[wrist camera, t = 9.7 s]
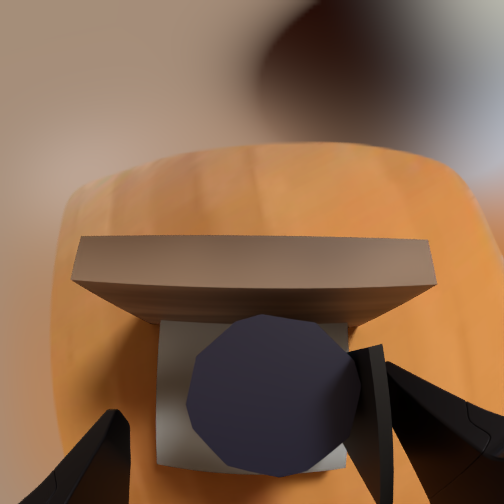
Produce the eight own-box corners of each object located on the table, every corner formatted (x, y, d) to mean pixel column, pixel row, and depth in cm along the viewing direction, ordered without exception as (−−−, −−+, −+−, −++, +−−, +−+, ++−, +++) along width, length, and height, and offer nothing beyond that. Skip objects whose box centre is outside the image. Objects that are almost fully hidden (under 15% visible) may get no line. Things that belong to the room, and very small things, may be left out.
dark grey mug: (363, 348, 16) (452, 327, 6) (342, 434, 14) (402, 507, 4) (247, 326, 17) (196, 280, 8) (225, 411, 15) (149, 463, 6)
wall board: (356, 456, 14) (430, 506, 5) (146, 452, 15) (68, 497, 6) (356, 299, 19) (427, 239, 10) (153, 297, 20) (81, 236, 10)
